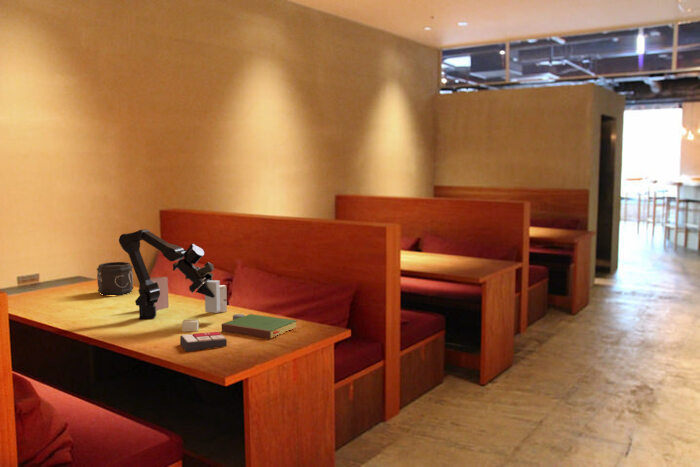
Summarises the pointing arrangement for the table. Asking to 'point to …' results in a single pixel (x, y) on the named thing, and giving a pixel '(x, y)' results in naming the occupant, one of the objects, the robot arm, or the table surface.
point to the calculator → (202, 341)
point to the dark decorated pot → (115, 278)
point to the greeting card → (162, 292)
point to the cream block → (190, 325)
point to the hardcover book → (258, 326)
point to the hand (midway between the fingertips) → (215, 295)
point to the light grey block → (214, 303)
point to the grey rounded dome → (237, 316)
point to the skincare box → (223, 299)
